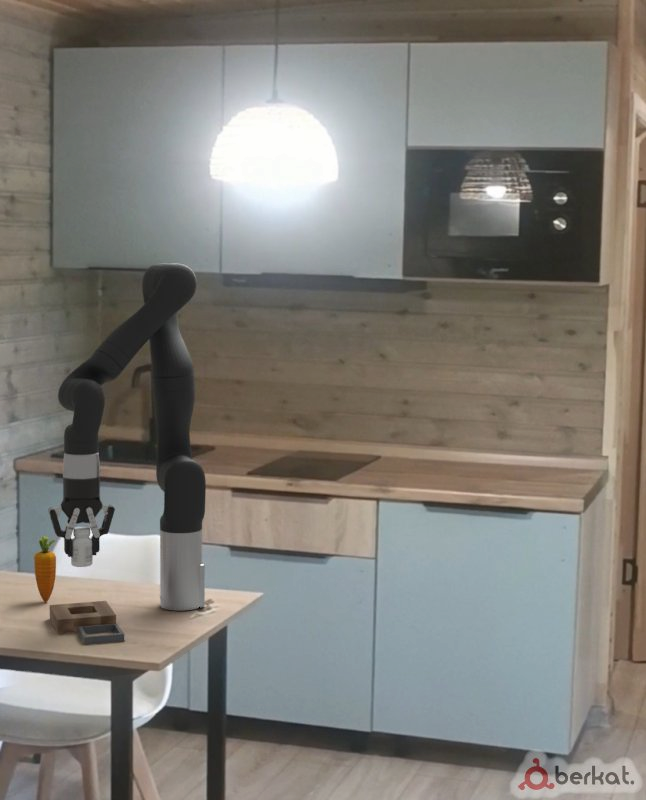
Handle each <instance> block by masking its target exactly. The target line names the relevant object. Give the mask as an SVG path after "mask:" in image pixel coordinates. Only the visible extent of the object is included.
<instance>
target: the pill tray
mask: <svg viewBox="0 0 646 800" xmlns="http://www.w3.org/2000/svg"><path fill="white" fill-rule="evenodd" d="M113 632H114V633H113ZM103 633H107V634H103ZM77 634H78V636H79V638H80V639H81V642H82V643H83V645H85V646H87V645H98V644H109V643H120V642H121V643H122V642H125V633H124V631H123V630H122V628H121V627H120V625H119V624H118V623H116V624H105V625H93V626H80V627H78V633H77ZM93 634H96V635H93Z"/></svg>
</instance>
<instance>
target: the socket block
mask: <svg viewBox="0 0 646 800" xmlns="http://www.w3.org/2000/svg"><path fill="white" fill-rule="evenodd" d="M49 621H50V622H51V624H52V626H53V629H54V630H55V632H56V633H57V635H65V634H78V627H80V626H93V625H105V624H117V615H116V613H115V611H114V610H113V608H112V607H111V606H110V605H109V603H108V601H106V600H98V601H97V600H96V601H85V602H71V603H60V604H58V603H57V604H49Z"/></svg>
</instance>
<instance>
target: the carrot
mask: <svg viewBox="0 0 646 800" xmlns="http://www.w3.org/2000/svg"><path fill="white" fill-rule="evenodd" d="M48 541H49V542H48ZM54 542H56V540H55V539H54V538H53V539H51V540H49V536H45V535H43V536H42V537H41V538H40V539H38V543H39V547H40V549H41V551H38V552H36V553H35V554H34V557H33V561H34V575H35V581H36V585H37V587H36V588H37V589H38V593H39V595H40V597H41V600H42V601H43V602H44V603H47V602H48V601H50V598H51V596H52V594H53V590H54V586H55V581H56V576H57V575H56V573H57V557H56V554H55V552H54V551H50V550H49V549H50V546H51V545H52V544H53V543H54Z"/></svg>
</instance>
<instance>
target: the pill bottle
mask: <svg viewBox="0 0 646 800" xmlns="http://www.w3.org/2000/svg"><path fill="white" fill-rule="evenodd" d="M72 534H73V538H71V539H72V557H70V559H71V561H70V562H71V564H70V565H72V567H76V568H86V567H91V566H92V565H93V559H94V558H93V556H94V555H93V543H92V539H91V528H90V527H85V526H79V527H78V526H77V527H74V529H73V532H72Z"/></svg>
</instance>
